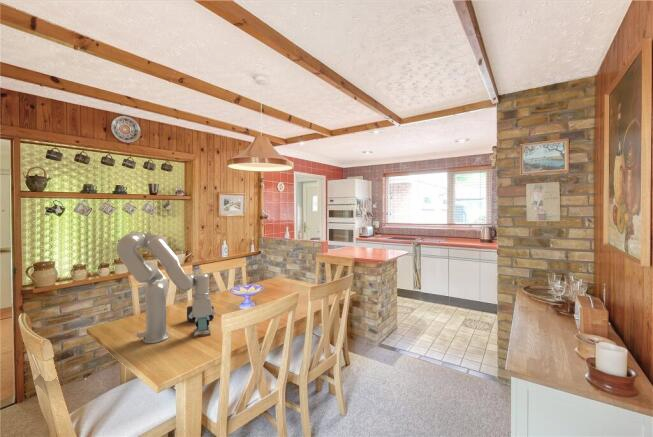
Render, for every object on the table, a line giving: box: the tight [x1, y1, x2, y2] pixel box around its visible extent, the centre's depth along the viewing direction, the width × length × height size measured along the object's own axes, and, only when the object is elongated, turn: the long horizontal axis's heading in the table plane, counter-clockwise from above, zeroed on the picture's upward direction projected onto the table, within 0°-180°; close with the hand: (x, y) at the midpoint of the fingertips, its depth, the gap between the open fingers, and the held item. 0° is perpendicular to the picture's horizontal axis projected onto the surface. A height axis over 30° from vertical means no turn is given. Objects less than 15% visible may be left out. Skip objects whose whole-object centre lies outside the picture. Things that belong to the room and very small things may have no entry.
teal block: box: [198, 316, 207, 330], centre depth 166 cm, size 4×4×6 cm
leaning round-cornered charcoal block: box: [186, 305, 215, 323], centre depth 184 cm, size 16×5×9 cm, turn 98°
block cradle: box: [192, 324, 211, 338], centre depth 166 cm, size 9×9×2 cm
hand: (202, 326), depth 166 cm, fingers closed on teal block, 4 cm apart
